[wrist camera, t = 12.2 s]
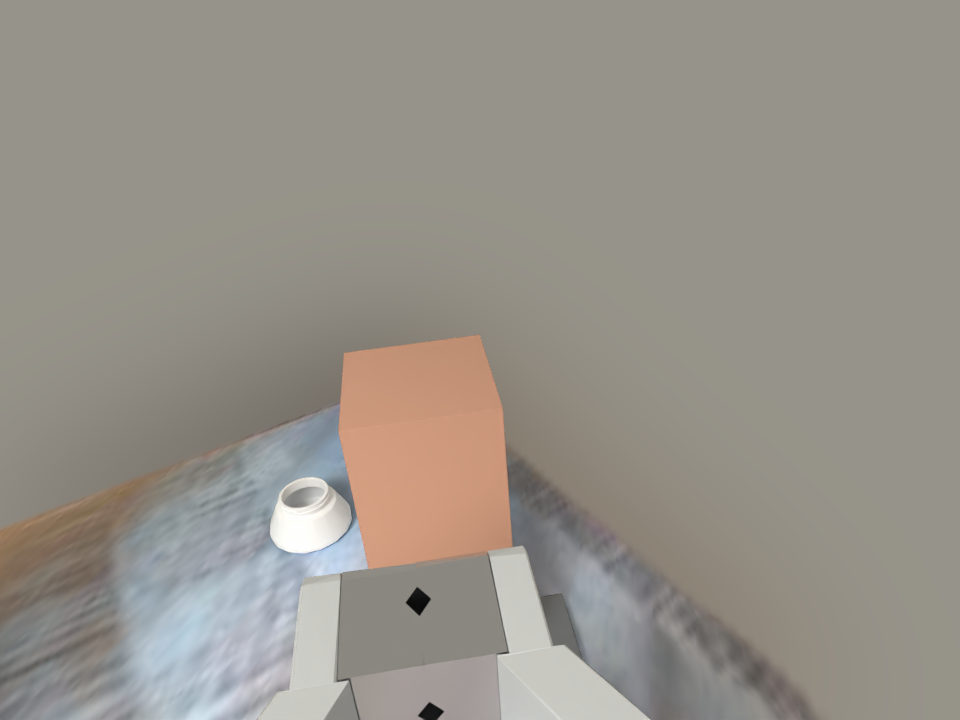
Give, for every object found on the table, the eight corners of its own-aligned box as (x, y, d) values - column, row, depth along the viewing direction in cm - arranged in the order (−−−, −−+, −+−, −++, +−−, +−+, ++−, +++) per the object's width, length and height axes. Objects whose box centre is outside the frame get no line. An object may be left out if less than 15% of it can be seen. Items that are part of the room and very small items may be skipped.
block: (521, 669, 32) (502, 407, 25) (396, 691, 31) (338, 431, 24) (500, 574, 37) (479, 334, 30) (392, 591, 37) (344, 352, 29)
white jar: (290, 500, 45) (259, 555, 41) (281, 465, 44) (248, 519, 39) (362, 502, 44) (337, 559, 40) (354, 468, 43) (328, 523, 39)
